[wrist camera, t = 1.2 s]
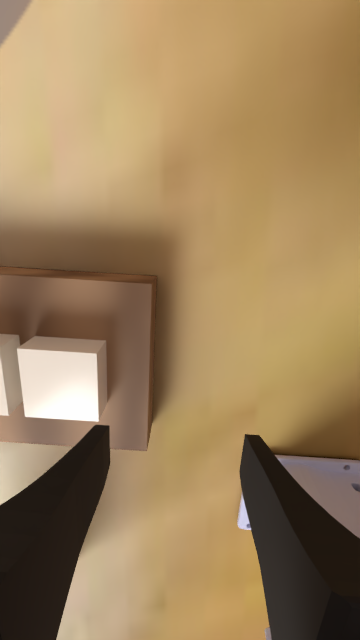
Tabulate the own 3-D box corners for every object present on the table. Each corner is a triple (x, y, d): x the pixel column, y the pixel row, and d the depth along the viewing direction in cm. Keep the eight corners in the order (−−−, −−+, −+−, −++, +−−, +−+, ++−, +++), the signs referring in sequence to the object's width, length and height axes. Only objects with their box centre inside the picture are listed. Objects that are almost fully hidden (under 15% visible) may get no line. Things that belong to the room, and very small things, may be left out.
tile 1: (106, 340, 18) (96, 353, 16) (107, 402, 20) (98, 421, 18) (34, 336, 18) (16, 348, 16) (40, 398, 20) (25, 416, 18)
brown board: (156, 276, 20) (151, 284, 17) (151, 424, 24) (146, 451, 21) (-46, 263, 20) (-85, 269, 17) (-20, 412, 24) (-49, 438, 21)
